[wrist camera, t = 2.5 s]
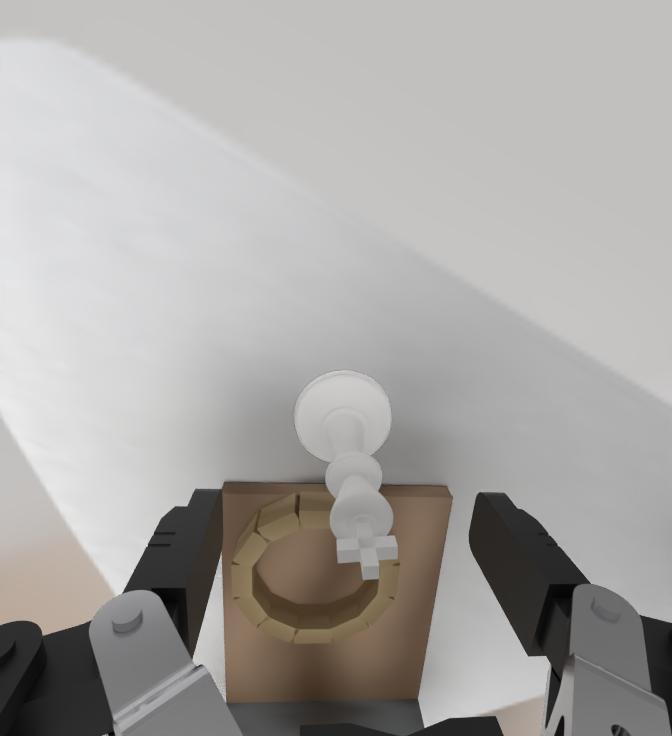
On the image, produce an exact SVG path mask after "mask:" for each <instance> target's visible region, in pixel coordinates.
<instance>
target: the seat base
mask: <svg viewBox="0 0 672 736" xmlns="http://www.w3.org/2000/svg"><path fill="white" fill-rule="evenodd" d="M378 492H379V493H380V494H381V495H382V496H383V497H384V498H385V499H386V500H387V502H388V503H389V505H390V506H391V509H392V512H393V524H392V528H391V530H390V532H389V533H388V534H387V536H393V535H395V538H396V542H397V545H398V559H391V560H378V562H379V579H370V580H363V577H362V570H361V564H360V562H350V563H338V558H337V540H336V539H337V538H336V537H335V535H334V534H333V532H332V530H331V527H330V513H331V510H332V507H333V505H334V502H335V501H336V498H335V497H334V496H333V495H332V494H331V493H330V491H329V490H328V488H327V486H326V484H293V483H242V482H224V484H223V487H222V497H223V544H222V574H223V607H224V640H225V673H226V705H227V707H228V708H229V710H230V712H231V714H232V716H233V718H234V720H235V721H236V723H237V725H238V727H239V729H240V731H241V733H242V734H243V736H299V731H300V725H318V724H339V723H352V724H355V725H359V726H363V727H367V728H371V729H375V730H378V731H382V732H386V733H390V734H394V735H397V736H407V735H410V734H412V733H415V732H417V731H419V730H422V729H424V724H423V720H422V715H421V711H420V707H419V702H418V694H419V688H420V683H421V677H422V671H423V666H424V660H425V654H426V648H427V643H428V637H429V631H430V625H431V620H432V614H433V608H434V603H435V597H436V591H437V585H438V580H439V574H440V568H441V562H442V557H443V551H444V545H445V540H446V534H447V528H448V522H449V517H450V511H451V505H452V499H453V497H452V495H451V494H450V492H449V490H448V488H447V486H396V485H381V486H380V488H379V490H378Z"/></svg>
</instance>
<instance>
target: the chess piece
mask: <svg viewBox="0 0 672 736" xmlns="http://www.w3.org/2000/svg"><path fill="white" fill-rule="evenodd" d="M391 421H392V416H391V407H390V402H389V399H388V397H387V395H386V393H385V391H384V390H383V388H382V387H381V386H380V385H379V384H378V383H377V382H376V381H375V380H373V379H372V378H370V377H369V376H367V375H365V374H362V373H359V372H356V371H350V370H338V371H332V372H328V373H325V374H323V375H321V376H319V377H317V378H315V379H314V380H313V381H311V382H310V383H309V384H308V385H307V386H306V387H305V388H304V389H303V391H302V392H301V394H300V395H299V397H298V399H297V402H296V405H295V410H294V423H295V427H296V432H297V435H298V437H299V439H300V441H301V443H302V444H303V446H304V447H305V448H306V449H307V450H308V451H309V452H310V453H311V454H312V455H314V456H315V457H317V458H319V459H321V460H323V461H326V462H329V463H330V465H329V466H328V468H327V470H326V474H325V482H326V486H327V488H328V490H329V491H330V493H331V494H332V495H333V496H334V497H335V498H336V501H335V502H334V505H333V507H332V510H331V513H330V527H331V530H332V532H333V534H334V535H335V537H336V538H337V539H336V540H337V558H338V563H350V562H360V564H361V570H362V577H363V580H370V579H379V562H378V560H391V559H398V545H397V542H396V538H395V535H393V536H387V534H388V533H389V532H390V530H391V528H392V524H393V512H392V509H391V506H390V505H389V503H388V502H387V500H386V499H385V498H384V497H383V496H382V495H381V494H380V493H379V492H378V490H379V488H380V486H381V482H382V470H381V467H380V465H379V463H378V462H377V461H376V460H375V459H374V458H373V457H372V456H371V455H372V454H373V453H375V452H376V451H377V450H378V449H379V448H380V447H381V446H382V444H383V443H384V442H385V440H386V438H387V436H388V434H389V431H390V428H391Z"/></svg>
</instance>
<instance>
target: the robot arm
mask: <svg viewBox="0 0 672 736" xmlns="http://www.w3.org/2000/svg"><path fill="white" fill-rule="evenodd" d="M222 544H223V497H222V490H221V489H195V491H194V493H193V495H192V497H191V500H190V502H189V504H188V506H187V507H183V506H175V507H174V508H173V509H172V510H170V511H169V512H168V513H167V514H166V515H165V516H164V517H162V518H161V520H160V522H159V524H158V526H157V528H156V530H155V532H154V535H153V536H152V538H151V539H150V541H149V543H148V547H146V549H145V551H144V553H143V555H142V557H141V559H140V561H139V563H138V564H137V566H136V568H135V570H134V572H133V574H132V576H131V578H130V580H129V582H128V584H127V586H126V588H125V589H124V591H123V593H122V594H121V595H119V596H117V597H115V598H113V599H112V600H110V601H109V602H107V603H106V604H105V605H104V606H102V607H101V608H100V610H99V611H98V612H97V613H96V614H95V616H94V618H93V619H92V620H91V621H89V622H87V623H85V624H82V625H79V626H75V627H72V628H68V629H65V630H62V631H58V632H55V633H51V634H48V635H45V636H43V635H42V631H41V629H40V627H39V626H38V625H37V624H35V623H33V622H30V621H15V622H10V623H6V624H3V625H0V736H102V735H105V734H106V736H243V734H242V733H241V731H240V729H239V727H238V725H237V723H236V721H235V720H234V718H233V716H232V714H231V712H230V710H229V708H228V707H227V705H226V703H225V701H224V699H223V697H222V695H221V693H220V692H219V690H218V688H217V686H216V684H215V682H214V680H213V679H212V677H211V675H210V673H209V671H208V670H207V669H206V667H205V666H204V665H202V664H201V665H199V666H197V667H196V666H195V664H194V663H193V661H192V659H193V655H194V651H195V648H196V644H197V640H198V637H199V633H200V629H201V625H202V622H203V618H204V614H205V611H206V607H207V603H208V599H209V596H210V592H211V588H212V585H213V581H214V577H215V573H216V570H217V566H218V562H219V559H220V555H221V550H222ZM469 544H470V548H471V551H472V554H473V556H474V558H475V559H476V561H477V563H478V565H479V567H480V569H481V570H482V572H483V574H484V576H485V578H486V580H487V581H488V583H489V585H490V587H491V589H492V591H493V592H494V594H495V596H496V598H497V600H498V602H499V604H500V605H501V607H502V609H503V611H504V613H505V615H506V616H507V618H508V620H509V622H510V624H511V626H512V627H513V629H514V631H515V633H516V635H517V637H518V638H519V640H520V642H521V644H522V646H523V648H524V650H525V651H526V653H527V655H528V656H547V658H548V660H549V662H550V663H551V664H550V667H549V670H548V674H547V683H546V692H545V701H544V710H543V718H542V727H541V736H672V623H669V622H665V621H661V620H657V619H653V618H649V617H645V616H641V615H639V614H638V613H637V611H636V610H635V609H634V608H633V607H632V606H631V605H630V604H629V603H628V602H627V601H626V600H625V599H623V598H622V597H621V596H619V595H618V594H616V593H614V592H612V591H611V590H608V589H606V588H604V587H601V586H598V585H593V584H591V583H590V582H589V581H588V580H587V578H586V577H585V576H584V575H583V574H582V572H581V571H580V570H579V569H578V568H577V567H576V565H575V564H574V563H573V562H572V561H571V559H570V558H569V557H568V556H567V555H566V554H565V552H564V551H563V550H562V549H561V548H560V547H558V546H557V543H556V542H555V541H554V539H553V538H552V537H551V536H549V535H548V532H547V531H546V530H545V529H544V527H543V526H542V525H541V524H540V523H539V522H538V520H536V519H535V518H534V517H532V516H531V515H529V514H528V513H527V512H525V511H524V510H522V509H517V507H516V506H515V505H514V504H513V502H512V501H511V500H510V499H509V497H508V496H507V495H506V494H505V493H490V492H480V493H478V495H477V497H476V500H475V505H474V510H473V515H472V520H471V525H470V530H469ZM299 736H397V735H394V734H390V733H386V732H382V731H378V730H375V729H371V728H367V727H363V726H359V725H355V724H352V723H339V724H318V725H300V731H299ZM407 736H504V735H503V733H502V730H501V728H500V726H499V723H498V721H497V718H496V716H489V717H467V718H449V719H446V720H444V721H442V722H439V723H437V724H434V725H432V726H429V727H427V728H424V729H422V730H419V731H417V732H415V733H412V734H410V735H407Z"/></svg>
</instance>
